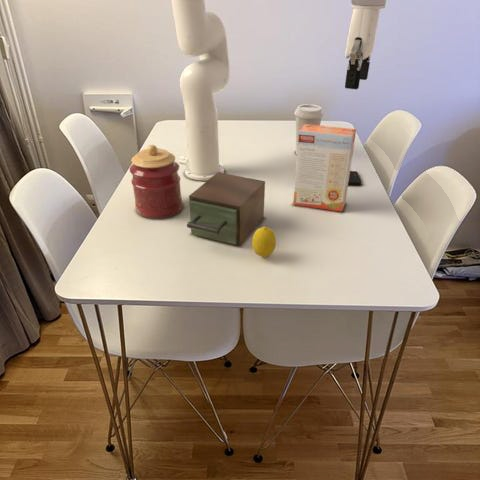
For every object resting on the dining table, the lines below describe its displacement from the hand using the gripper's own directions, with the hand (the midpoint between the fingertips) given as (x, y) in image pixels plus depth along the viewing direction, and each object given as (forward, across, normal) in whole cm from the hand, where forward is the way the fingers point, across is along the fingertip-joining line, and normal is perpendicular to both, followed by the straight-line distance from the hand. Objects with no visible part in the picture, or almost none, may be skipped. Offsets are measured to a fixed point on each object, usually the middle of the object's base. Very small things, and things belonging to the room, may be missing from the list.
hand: (356, 83), depth 113 cm
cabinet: (+31, +27, -23) cm, 47 cm away
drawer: (+30, +31, -23) cm, 49 cm away
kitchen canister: (+31, +25, -45) cm, 60 cm away
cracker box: (+31, +5, -4) cm, 32 cm away
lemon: (+31, +37, -9) cm, 49 cm away
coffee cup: (+31, -31, -20) cm, 48 cm away
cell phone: (+31, -13, -6) cm, 34 cm away
